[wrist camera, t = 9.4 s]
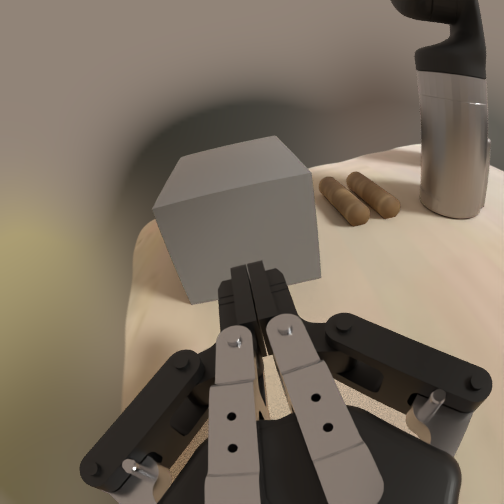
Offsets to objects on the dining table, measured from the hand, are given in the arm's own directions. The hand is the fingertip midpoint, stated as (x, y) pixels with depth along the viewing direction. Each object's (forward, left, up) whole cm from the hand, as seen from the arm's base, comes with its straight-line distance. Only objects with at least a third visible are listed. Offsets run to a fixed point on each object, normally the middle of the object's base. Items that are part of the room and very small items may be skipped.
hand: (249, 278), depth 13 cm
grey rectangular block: (0, -17, -9) cm, 19 cm away
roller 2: (-17, -21, -6) cm, 28 cm away
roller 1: (-12, -21, -6) cm, 25 cm away
